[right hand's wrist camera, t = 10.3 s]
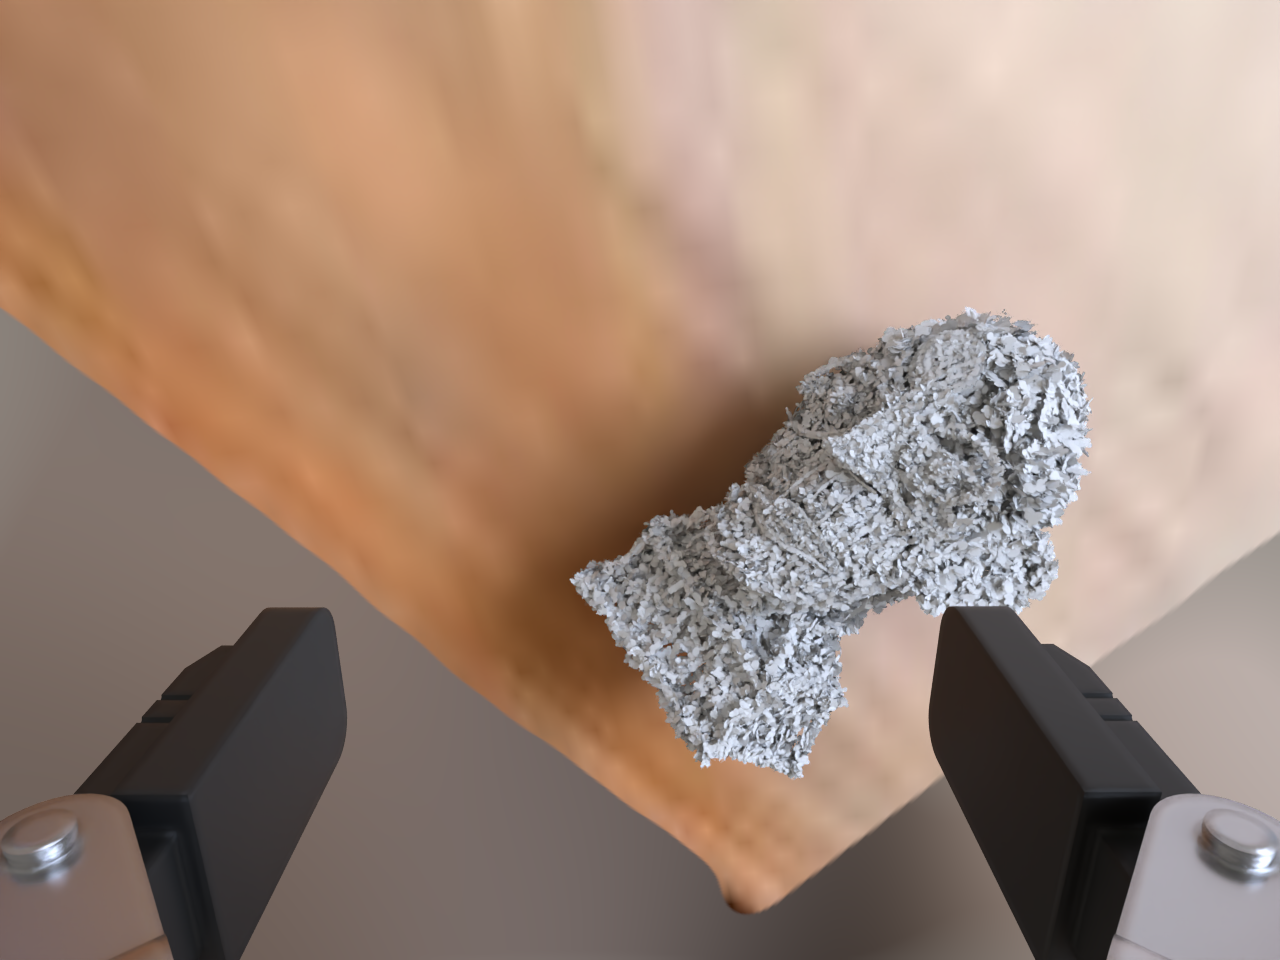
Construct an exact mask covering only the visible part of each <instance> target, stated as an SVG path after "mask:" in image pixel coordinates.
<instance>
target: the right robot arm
mask: <svg viewBox="0 0 1280 960" xmlns="http://www.w3.org/2000/svg"><path fill="white" fill-rule="evenodd" d="M346 728H347V709H346V701H345V694H344V687H343V680H342V673H341V666H340V659H339V652H338V645H337V638H336V631H335V625H334V620H333V617H332V615H331V613H330V611H329V610H328V609H327V608H266V609H264V610H263V611H262V612H261V613H260V614H259V615H258V617H257V618H256V619H255V620H254V621H253V623H252V624H251V625H250V626H249V627H248V629H247V630H246V631H245V632H244V634H243V635H242V636H241V637H240V638H239V639H238V641H237V642H236V643H235V644H234V646H220V647H218V648H217V649H215V650H214V651H212V652H210V653H209V654H207V655H206V656H204V657H202V658H201V659H199V660H198V661H196V662H195V663H193V664H191V665H190V666H188V667H186V668H185V669H184V670H183V671H182V672H181V674H180V675H179V676H178V677H177V678H176V679H175V680H174V681H173V683H172V684H171V685H170V686H169V687H168V688H167V689H166V690H165V692H164V693H163V694H162V698H161V700H157V701H156V702H155V703H154V704H153V705H152V706H151V707H150V709H149V710H148V711H147V712H146V713H145V714H144V715H143V716H142V722H141V723H136V724H135V726H134V727H133V728H132V729H131V730H130V731H129V732H128V733H127V735H126V736H125V737H124V738H123V739H122V740H121V741H120V742H119V744H118V745H117V746H116V747H115V748H114V749H113V750H112V751H111V753H110V754H109V755H108V756H107V757H106V758H105V759H104V760H103V762H102V763H101V764H100V765H99V766H98V767H97V768H96V769H95V771H94V772H93V773H92V774H91V775H90V776H89V777H88V779H87V780H86V781H85V782H84V783H83V784H82V785H81V786H80V788H79V789H78V790H77V791H76V792H75V793H74V794H73V795H68V796H63V797H58V798H54V799H50V800H47V801H44V802H41V803H38V804H35V805H32V806H30V807H28V808H25V809H23V810H21V811H19V812H16V813H14V814H12V815H10V816H8V817H7V818H5V819H3V820H2V821H0V960H240V958H241V956H242V954H243V952H244V950H245V948H246V946H247V944H248V942H249V940H250V938H251V936H252V934H253V932H254V930H255V928H256V926H257V924H258V922H259V920H260V918H261V916H262V914H263V912H264V910H265V908H266V906H267V904H268V902H269V900H270V898H271V896H272V894H273V892H274V890H275V888H276V886H277V884H278V882H279V880H280V878H281V876H282V874H283V871H284V870H285V867H286V865H287V863H288V861H289V859H290V857H291V855H292V853H293V851H294V849H295V847H296V845H297V843H298V841H299V839H300V837H301V835H302V833H303V831H304V829H305V827H306V825H307V823H308V821H309V819H310V817H311V815H312V813H313V811H314V809H315V807H316V805H317V803H318V801H319V799H320V797H321V795H322V793H323V791H324V789H325V787H326V785H327V783H328V781H329V779H330V777H331V775H332V773H333V771H334V769H335V767H336V765H337V763H338V761H339V759H340V756H341V753H342V750H343V747H344V742H345V737H346ZM929 731H930V738H931V743H932V747H933V750H934V753H935V756H936V758H937V760H938V762H939V764H940V766H941V768H942V770H943V772H944V775H945V777H946V779H947V781H948V783H949V785H950V787H951V789H952V791H953V793H954V795H955V797H956V799H957V801H958V803H959V805H960V807H961V809H962V811H963V813H964V815H965V817H966V819H967V821H968V823H969V825H970V827H971V829H972V831H973V833H974V836H975V838H976V840H977V842H978V844H979V846H980V848H981V850H982V852H983V854H984V856H985V858H986V860H987V862H988V864H989V866H990V868H991V870H992V872H993V874H994V876H995V878H996V880H997V882H998V884H999V886H1000V889H1001V891H1002V893H1003V895H1004V897H1005V899H1006V901H1007V903H1008V905H1009V907H1010V909H1011V911H1012V913H1013V915H1014V917H1015V919H1016V921H1017V923H1018V925H1019V927H1020V929H1021V931H1022V933H1023V935H1024V937H1025V939H1026V941H1027V943H1028V945H1029V947H1030V950H1031V952H1032V954H1033V956H1034V958H1035V960H1280V821H1278V820H1277V819H1275V818H1273V817H1272V816H1270V815H1268V814H1266V813H1264V812H1261V811H1259V810H1257V809H1255V808H1252V807H1250V806H1247V805H1245V804H1242V803H1239V802H1236V801H1233V800H1230V799H1226V798H1222V797H1217V796H1212V795H1205V794H1201V793H1200V792H1199V791H1198V790H1197V789H1196V788H1195V786H1194V785H1193V784H1192V783H1191V782H1190V781H1189V780H1188V778H1187V777H1186V776H1185V775H1184V774H1183V773H1182V772H1181V771H1180V769H1179V768H1178V767H1177V766H1176V765H1175V764H1174V763H1173V761H1172V760H1171V759H1170V758H1169V757H1168V756H1167V755H1166V753H1165V752H1164V751H1163V750H1162V749H1161V748H1160V747H1159V745H1158V744H1157V743H1156V742H1155V741H1154V740H1153V739H1152V737H1151V736H1150V735H1149V734H1148V733H1147V732H1146V731H1145V729H1144V728H1143V727H1142V726H1141V725H1140V724H1139V723H1138V722H1137V721H1133V720H1132V715H1131V714H1130V712H1129V711H1128V710H1127V709H1126V708H1125V707H1124V706H1123V704H1122V703H1121V702H1120V701H1119V700H1118V699H1117V698H1113V696H1112V692H1111V691H1110V690H1109V689H1108V687H1107V686H1106V685H1105V684H1104V683H1103V682H1102V681H1101V679H1100V678H1099V677H1098V676H1097V675H1096V674H1095V673H1094V671H1093V670H1092V669H1091V668H1090V667H1089V666H1088V665H1086V664H1084V663H1083V662H1081V661H1080V660H1078V659H1076V658H1075V657H1073V656H1072V655H1070V654H1068V653H1067V652H1065V651H1064V650H1062V649H1060V648H1059V647H1057V646H1056V645H1054V644H1041V643H1040V642H1039V641H1038V640H1037V638H1036V637H1035V636H1034V635H1033V634H1032V632H1031V631H1030V630H1029V629H1028V627H1027V626H1026V625H1025V624H1024V623H1023V621H1022V620H1021V619H1020V618H1019V617H1018V615H1017V614H1016V613H1015V612H1014V611H1013V610H1012V609H1011V608H1010V607H1007V606H950V607H948V608H947V609H946V610H945V612H944V614H943V617H942V620H941V625H940V632H939V640H938V647H937V654H936V661H935V668H934V675H933V682H932V689H931V697H930V704H929Z"/></svg>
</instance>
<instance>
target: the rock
mask: <svg viewBox="0 0 1280 960" xmlns="http://www.w3.org/2000/svg"><path fill="white" fill-rule="evenodd" d="M965 307H966V306H965ZM965 311H966V313H965V314H961V315H960V316H958V317H955V318H956V320H954V319H950V318H951V317H950V316H949V315H947V316H946V317H945V318H946V319H947V321H945V322H944V320H943V319H942V320H940V318H939V320H938V321H939V323H938V322H937V320H933V319H932V320H929V321H928V320H926V321H923V322H922V323H921V325H919V324H918V325H916V326H915V327H914V326H912V327H910V328H909V329H907V328H906V330H905V329H904V328H902V329H901V327H900V329H899V328H898V329H899V330H895V329H894V328H892V327H891V326H890V328H889V327H888V328H887V329H886V331H884V334H883V335H884V336H883V337H882V338H879V339H878V340H880V342H878V343H879V344H878V345H879V346H878V345H877V346H875V347H876V348H874V347H873V348H872V347H871V348H868V351H867V350H866V351H867V352H868V353H869V355H868V354H866V353H867V352H866V353H865V352H862V350H859V353H858V352H856V353H855V352H854V353H853V352H852V353H851V355H847V356H845V357H841V358H838V359H837V357H831V358H830V360H829V361H828V363H829V364H827V365H823V366H822V367H820V368H819V367H818V368H819V369H818V370H817V369H816V371H815V372H812V371H811V372H810V374H807V375H804V381H805V382H804V381H803V380H802V381H800V382H799V383H802V384H801V386H800V385H798V386H797V387H795V388H798V389H796V390H797V391H798V392H799V394H798V395H800V394H803V393H804V398H803V401H802V402H801V403H800V404H798V403H796V404H795V405H797V407H796V409H795V411H794V413H793V415H792V414H791V412H790V411H789V410H788V407H786V408H785V409H786V414H787V415H788V419H790V420H789V421H787V420H786V422H784V423H783V424H784V425H785V427H783V428H782V429H780V430H778V431H777V433H778V434H777V433H776V434H774V435H773V437H772V440H771V442H770V443H769V444H770V445H768V444H767V445H768V446H767V445H765V447H764V448H763V449H762V451H763V452H762V451H761V452H762V453H761V452H759V454H758V452H757V451H756V452H757V453H756V454H755V456H758V457H753V460H751V462H750V463H747V464H746V465H744V467H746V469H745V468H744V469H745V470H746V471H744V472H746V473H743V474H746V475H745V478H747V482H746V481H745V482H746V483H745V484H743V485H741V487H739V485H738V483H735V484H734V485H732V488H731V487H729V490H730V492H729V493H730V494H729V497H728V498H727V497H726V499H723V500H726V501H728V502H726V503H725V504H726V505H725V504H724V505H723V502H722V504H721V506H720V505H719V504H717V505H718V507H717V506H715V507H713V506H711V507H712V510H711V509H710V508H708V509H707V510H706V511H705V510H703V509H702V508H701V507H702V506H701V507H700V506H699V507H697V508H696V510H694V511H693V513H692V515H691V516H690V517H688V515H689V514H688V515H687V514H683V515H681V517H679V516H678V515H677V516H678V517H677V516H676V515H675V513H673V509H672V510H670V514H671V515H670V517H667V516H666V515H665V516H664V517H662V518H661V516H659V515H657V516H654V517H655V518H653V519H652V518H651V519H652V520H651V521H650V524H649V523H647V522H643V523H644V524H643V525H649V526H648V527H647V529H643V531H642V533H643V534H641V535H642V537H641V538H640V537H638V538H637V542H636V541H635V542H634V545H635V546H634V545H633V546H632V548H631V549H630V552H629V553H627V554H626V555H625V556H621V555H618V556H617V558H615V559H614V561H612V562H613V563H612V562H609V560H608V561H607V560H605V562H604V563H601V561H600V562H598V563H596V561H593V560H592V562H589V563H588V565H587V566H586V568H589V567H591V568H589V569H585V570H583V569H582V568H581V569H580V570H581V572H580V573H578V572H577V571H576V572H577V573H576V574H575V575H574V576H576V577H574V578H575V580H574V579H569V580H571V583H573V585H575V586H576V590H577V591H576V592H578V594H580V595H581V596H583V597H582V599H583V598H585V600H586V602H587V603H586V604H589V605H590V606H592V607H593V608H592V610H593V611H594V610H596V611H597V613H598V614H599V615H600V616H601V615H602V614H604V616H605V615H607V619H605V621H604V622H605V623H606V624H607V626H608V627H609V630H610V632H611V631H613V634H614V635H613V634H611V635H612V638H613V639H614V640H616V639H617V640H616V641H615V642H616V644H615V645H616V646H618V647H623V648H624V649H625V650H626V653H627V654H625V657H626V659H624V660H623V661H624V663H627V662H628V663H629V666H630V667H631V668H632V667H633V669H638V668H640V669H639V671H640V670H643V671H642V672H643V674H644V675H643V676H641V677H642V680H643V681H644V680H646V681H649V682H650V683H651V684H652V686H655V687H656V688H657V690H658V689H660V690H659V692H656V695H658V696H659V702H658V703H659V705H660V707H659V708H660V709H661V708H664V709H665V711H666V712H669V713H666V715H667V717H668V719H667V718H666V722H667V723H671V727H673V729H676V730H675V734H677V736H675V739H676V738H680V736H681V739H683V740H685V744H686V743H687V742H688V743H687V744H688V745H687V746H686V747H687V749H688V747H689V749H690V750H692V752H693V751H694V750H695V749H697V751H698V752H697V751H696V752H697V753H696V756H695V755H694V757H695V758H696V761H695V762H697V760H699V761H701V762H702V765H701V766H700V767H701V768H703V767H704V765H705V766H707V767H708V766H710V762H709V761H710V759H711V758H715V757H716V758H717V759H719V758H720V757H721V758H722V757H723V758H724V760H725V758H727V757H728V756H729V755H730V757H731V756H732V757H731V758H732V760H734V759H738V760H739V761H740V762H741V761H743V762H744V763H745V764H746V762H752V760H753V764H754V763H755V765H756V766H757V767H758V765H761V766H760V767H763V768H764V767H766V766H767V767H768V766H769V767H770V768H772V769H773V770H775V771H778V770H779V772H780V773H781V772H783V773H784V775H785V773H786V775H788V777H790V778H793V777H794V776H795V778H794V780H795V779H796V778H798V777H799V779H800V776H801V777H804V776H803V775H802V771H801V770H802V768H801V767H803V765H804V764H809V763H810V762H809V761H808V756H809V755H808V756H807V754H808V753H809V752H810V753H811V751H812V749H811V746H812V743H813V745H815V743H814V740H815V738H816V737H817V735H818V733H819V731H821V730H822V729H821V728H820V727H821V725H823V724H824V725H826V726H827V724H826V723H827V722H828V719H829V720H830V718H829V716H830V715H831V714H830V713H829V712H832V711H834V710H837V709H836V708H838V706H839V707H842V706H845V707H848V706H849V705H848V704H847V703H848V702H847V699H845V698H844V697H842V696H843V695H844V694H843V693H842V692H843V691H844V692H846V691H847V688H843V689H842V688H841V687H840V683H838V680H839V678H841V677H839V674H840V672H841V671H842V668H843V666H842V663H839V662H838V659H839V657H840V656H841V652H840V655H839V654H838V657H836V655H835V650H837V651H839V650H840V651H841V649H842V648H841V646H840V644H839V641H840V639H841V636H842V635H846V634H847V635H850V634H851V633H852V632H853V633H852V634H854V633H855V634H859V632H858V629H860V627H862V625H863V624H864V620H862V619H863V618H864V619H865V617H866V618H867V614H866V613H867V612H868V611H867V610H869V609H871V608H873V607H874V608H873V609H874V610H873V611H875V612H876V613H877V614H880V612H881V611H883V608H886V607H887V606H885V605H886V602H887V603H890V605H891V606H892V604H893V603H894V604H895V602H894V601H895V600H896V601H898V603H899V602H900V601H901V600H903V599H908V597H909V596H914V595H915V596H916V601H918V603H920V604H919V605H921V606H920V608H921V609H922V610H924V613H926V614H927V615H928V614H931V615H933V616H934V617H935V616H938V615H940V612H941V611H943V612H944V610H945V609H946V608H948V607H950V606H1007V607H1010V608H1011V609H1012V610H1013V611H1014V610H1015V609H1016V610H1015V612H1017V615H1018V614H1019V613H1020V612H1022V607H1024V608H1025V606H1028V607H1029V603H1030V602H1028V599H1027V598H1030V599H1031V598H1032V599H1033V600H1034V599H1037V600H1039V601H1040V600H1043V597H1044V596H1046V592H1044V591H1046V590H1049V586H1050V585H1049V584H1051V581H1052V580H1054V579H1056V578H1058V575H1056V574H1057V572H1058V571H1057V569H1058V568H1059V566H1058V565H1059V564H1058V563H1059V562H1058V561H1057V562H1056V561H1055V560H1054V561H1051V560H1053V559H1054V558H1055V553H1054V552H1053V550H1054V547H1052V546H1053V545H1052V546H1050V545H1051V544H1052V541H1050V543H1049V545H1047V544H1048V542H1047V541H1048V540H1049V539H1050V538H1049V537H1050V535H1051V533H1050V534H1049V531H1048V532H1042V531H1039V529H1040V528H1041V529H1042V528H1043V526H1044V528H1045V526H1050V527H1051V528H1053V527H1052V526H1053V524H1054V525H1057V526H1058V524H1061V522H1063V521H1062V520H1060V519H1061V518H1059V517H1061V515H1063V514H1064V511H1065V510H1064V511H1063V510H1062V509H1066V507H1067V506H1066V504H1067V505H1068V502H1069V503H1070V502H1071V501H1072V502H1074V501H1076V500H1077V499H1078V498H1077V497H1078V496H1077V495H1076V493H1075V494H1074V491H1076V490H1080V489H1081V487H1079V486H1080V485H1079V483H1080V479H1078V478H1079V477H1078V476H1079V475H1081V476H1082V475H1085V474H1086V475H1088V473H1092V472H1090V471H1089V472H1087V471H1086V469H1083V468H1081V464H1079V463H1078V462H1077V459H1076V457H1077V458H1079V457H1080V456H1081V455H1082V452H1083V453H1084V454H1086V455H1087V456H1088V457H1089V455H1088V452H1085V447H1086V446H1087V447H1089V448H1090V447H1092V444H1091V443H1090V442H1091V439H1090V438H1086V437H1084V436H1085V435H1086V434H1087V432H1088V431H1090V430H1092V429H1093V428H1092V429H1087V428H1085V427H1086V426H1087V425H1086V424H1087V422H1088V420H1089V419H1088V418H1087V417H1088V416H1086V415H1088V414H1089V411H1090V413H1091V412H1092V411H1091V409H1090V408H1091V407H1089V403H1088V402H1087V401H1089V400H1087V401H1085V400H1086V399H1085V397H1086V398H1087V395H1086V394H1085V393H1084V390H1083V388H1085V386H1086V384H1084V385H1081V383H1083V382H1084V381H1083V380H1082V378H1083V376H1084V374H1085V372H1084V371H1083V374H1082V376H1081V374H1079V373H1078V374H1076V373H1077V369H1076V368H1080V366H1077V365H1078V363H1077V362H1075V361H1074V362H1071V361H1072V358H1073V357H1074V354H1071V355H1069V354H1070V353H1068V352H1067V353H1066V352H1065V351H1062V352H1061V353H1060V352H1059V351H1060V350H1061V349H1060V350H1059V348H1060V347H1059V348H1058V347H1057V346H1058V345H1057V344H1055V343H1054V342H1051V341H1052V338H1050V336H1049V335H1047V336H1046V337H1044V338H1043V339H1041V337H1039V338H1037V339H1036V336H1034V335H1036V334H1037V333H1036V332H1037V331H1034V332H1033V331H1031V332H1033V333H1031V334H1030V332H1028V331H1029V330H1030V329H1031V328H1032V327H1033V326H1034V325H1035V324H1030V325H1029V322H1030V321H1029V322H1028V321H1027V320H1026V322H1025V321H1022V320H1017V322H1015V323H1012V324H1013V325H1015V326H1016V325H1017V326H1018V327H1013V325H1011V323H1010V322H1009V320H1010V317H1007V318H1006V317H1003V318H1002V316H999V315H998V316H996V315H993V316H991V317H990V316H989V315H990V313H991V311H990V312H989V313H987V314H986V313H984V315H983V313H982V314H977V312H976V310H973V309H972V308H969V306H968V308H967V307H966V309H965ZM965 311H964V312H965ZM1004 311H1005V309H1004V310H1003V311H1002V313H1003V312H1004ZM960 313H961V312H960ZM962 313H963V312H962ZM1000 314H1001V313H1000ZM1004 314H1005V315H1006V314H1007V313H1006V312H1005V313H1004ZM957 315H958V314H957ZM1008 316H1009V315H1008ZM997 317H998V318H999V317H1000V318H999V320H998V322H995V321H993V320H995V319H996V318H997ZM1011 318H1012V316H1011ZM996 320H997V319H996ZM1003 320H1004V321H1003ZM940 321H941V322H940ZM916 323H917V322H916ZM1027 323H1028V324H1027ZM1037 325H1038V324H1037ZM926 326H927V327H926ZM913 327H914V329H913ZM1010 327H1013V328H1010ZM1034 327H1035V326H1034ZM911 328H912V329H911ZM1041 331H1042V330H1041ZM1033 334H1034V335H1033ZM875 344H876V343H875ZM1058 344H1059V343H1058ZM1056 345H1057V346H1056ZM1055 346H1056V347H1055ZM1060 346H1061V345H1060ZM860 348H861V347H860ZM879 348H880V349H879ZM858 349H859V348H858ZM1067 351H1068V350H1067ZM833 366H834V367H835V369H836V370H840V369H841V370H842V371H840V373H837V374H834V373H833V372H832V373H829V370H830V369H831V368H834V367H833ZM840 366H841V367H840ZM1074 367H1075V369H1074ZM832 370H833V369H832ZM844 371H845V372H847V373H845V372H844ZM827 372H828V373H827ZM825 373H826V374H827V375H828V377H827V375H826V377H824V376H820V375H822V374H824V375H825ZM833 374H834V375H833ZM818 376H819V378H818ZM1086 379H1087V378H1086ZM815 380H816V381H815ZM1081 380H1082V381H1083V382H1082V381H1081ZM1084 380H1085V379H1084ZM802 396H803V395H802ZM1092 399H1093V398H1092ZM1092 399H1091V400H1092ZM1091 400H1090V401H1091ZM1090 401H1089V402H1090ZM804 404H805V405H804ZM803 406H804V408H805V409H802V408H801V407H803ZM799 407H800V410H799V411H796V410H797V409H798V408H799ZM1091 414H1092V413H1091ZM795 415H796V417H794V416H795ZM1090 418H1091V417H1090ZM1087 419H1088V420H1087ZM1086 420H1087V422H1086ZM1084 422H1085V425H1084ZM785 428H787V429H785ZM1084 428H1085V429H1084ZM769 440H770V439H769ZM772 441H773V442H772ZM765 448H766V450H765ZM752 456H753V455H752ZM1078 456H1079V457H1078ZM749 461H750V460H749ZM732 484H733V483H732ZM743 490H744V491H743ZM727 493H728V492H727ZM727 496H728V495H727ZM1066 501H1067V502H1066ZM1060 508H1061V509H1060ZM704 511H705V512H704ZM704 515H706V516H704ZM1064 517H1065V516H1064ZM706 519H707V520H708V522H704V523H702V524H701V522H702V521H705V520H706ZM709 519H710V520H709ZM1061 525H1062V524H1061ZM1042 533H1045V534H1042ZM638 534H640V532H639V533H638ZM1052 536H1053V535H1052ZM1047 538H1049V539H1047ZM1046 543H1047V544H1046ZM633 555H634V556H633ZM619 559H620V560H619ZM1057 560H1058V559H1057ZM589 561H590V560H589ZM603 561H604V560H603ZM603 561H602V562H603ZM596 564H598V565H596ZM1050 564H1051V565H1050ZM599 565H600V566H599ZM598 567H599V568H598ZM985 570H989V571H985ZM982 575H983V576H982ZM997 575H998V576H997ZM981 576H982V577H981ZM980 577H981V578H980ZM983 578H984V579H983ZM617 601H618V602H617ZM615 602H617V606H616V607H614V604H615ZM637 603H638V604H637ZM615 605H616V604H615ZM943 612H941V613H943ZM597 613H596V614H597ZM876 613H875V614H876ZM637 618H638V619H637ZM649 621H650V622H651V623H650V622H649ZM630 622H632V623H630ZM648 622H649V623H650V624H649V625H648ZM652 623H653V625H652ZM647 633H648V634H647ZM837 635H839V637H840V638H839V637H838V636H837ZM833 640H834V641H833ZM837 640H838V641H837ZM669 642H670V643H671V642H672V647H673V648H672V649H671V646H667V648H666V649H665V648H664V647H663V645H666V644H667V645H668V643H669ZM619 643H620V644H619ZM673 643H674V645H673ZM624 644H625V645H624ZM662 647H663V648H662ZM660 648H661V649H660ZM663 649H664V650H663ZM680 651H681V652H680ZM679 652H680V653H682V652H683V653H684V652H687V654H688V658H687V656H686V657H684V656H679V657H680V658H678V656H676V655H677V654H679ZM683 653H682V654H683ZM631 654H632V655H633V660H632V656H631ZM834 655H835V656H834ZM625 657H624V658H625ZM697 657H698V658H697ZM699 657H700V658H699ZM836 658H837V659H836ZM840 658H841V657H840ZM702 663H704V664H703V665H701V664H702ZM705 663H706V664H705ZM700 665H701V667H698V666H700ZM629 666H628V667H629ZM841 667H842V668H841ZM700 670H704V671H703V672H701V671H700ZM639 671H638V672H639ZM692 671H693V672H692ZM690 672H692V673H693V676H691V673H690ZM836 675H838V677H837V676H836ZM688 676H689V677H688ZM694 676H695V677H694ZM833 676H836V677H833ZM641 677H640V678H641ZM837 678H838V679H837ZM693 680H695V683H694V684H693V685H689V684H690V683H691V682H692V681H693ZM649 682H647V683H648V684H650V683H649ZM680 682H681V683H680ZM693 682H694V681H693ZM678 683H679V684H678ZM648 684H647V685H648ZM685 684H686V685H685ZM691 684H692V683H691ZM681 685H682V686H681ZM684 686H685V687H684ZM836 687H837V689H836ZM694 692H695V693H694ZM659 705H658V706H659ZM830 710H832V711H830ZM663 711H664V710H663ZM729 711H730V712H729ZM798 712H799V713H798ZM828 713H829V714H828ZM811 719H812V721H813V722H811V723H810V720H811ZM802 727H803V728H804V727H805V728H804V730H803V731H804V733H803V735H802V736H801V735H799V736H798V738H797V734H798V732H799V731H800V729H802ZM813 727H814V728H813ZM818 729H819V730H818ZM676 732H677V733H676ZM800 732H801V731H800ZM797 741H799V742H798V744H797ZM794 743H796V744H795V746H794ZM792 745H793V746H794V747H793V749H792ZM791 749H792V751H791ZM688 752H689V751H688ZM727 755H728V756H727ZM726 756H727V757H726ZM694 757H693V758H694ZM721 758H720V759H721ZM723 758H722V759H723ZM719 761H720V760H719ZM757 763H758V765H757ZM775 771H774V772H775ZM779 775H780V774H779Z"/></svg>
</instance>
